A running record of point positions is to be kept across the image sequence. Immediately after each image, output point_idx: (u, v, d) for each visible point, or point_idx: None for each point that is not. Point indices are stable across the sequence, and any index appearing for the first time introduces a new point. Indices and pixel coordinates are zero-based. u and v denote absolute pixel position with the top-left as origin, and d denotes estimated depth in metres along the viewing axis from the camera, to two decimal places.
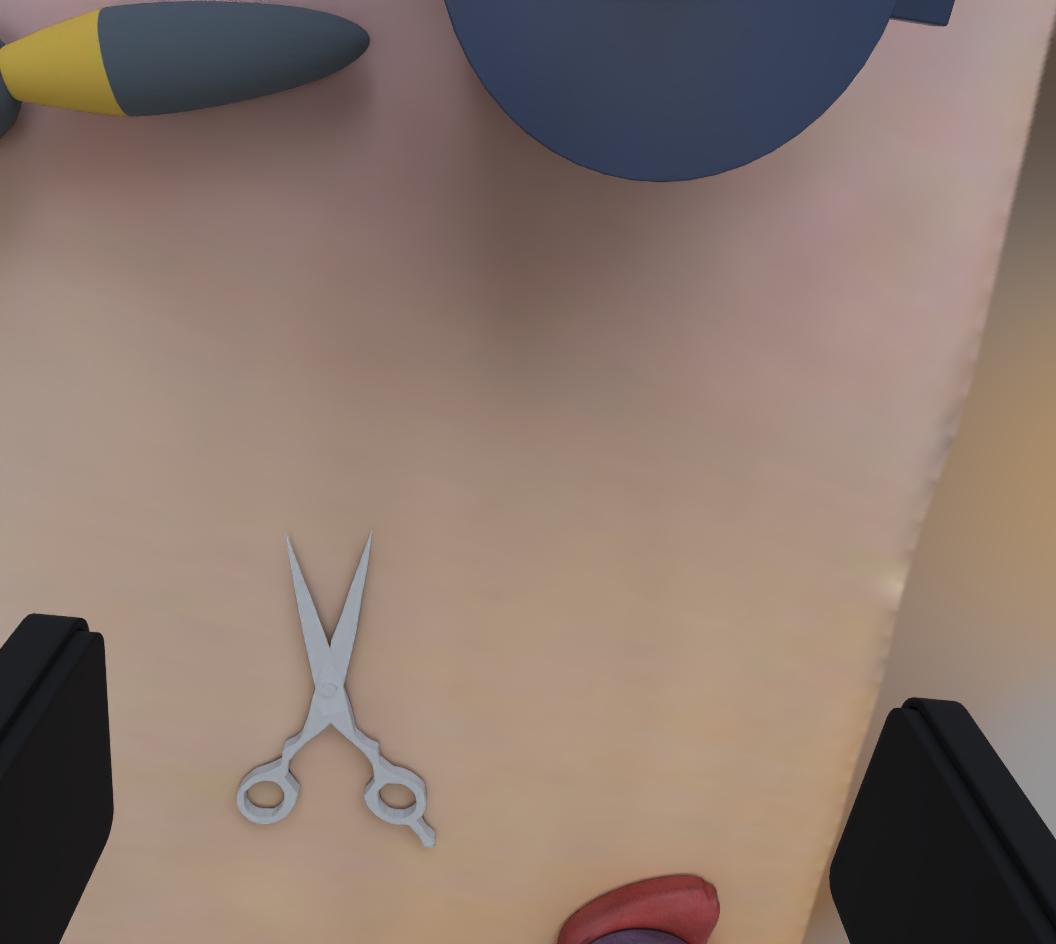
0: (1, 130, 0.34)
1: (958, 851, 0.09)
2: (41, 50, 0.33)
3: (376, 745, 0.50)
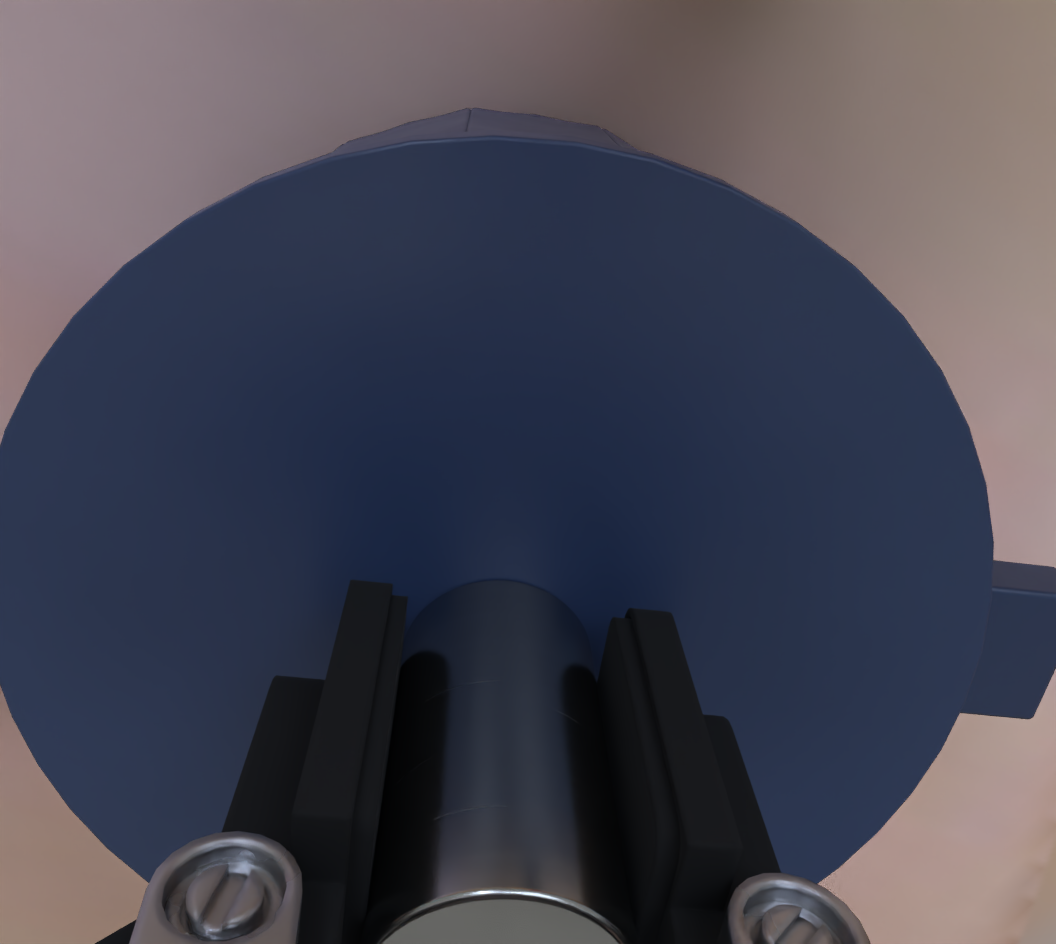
0: None
1: (627, 735, 0.10)
2: None
3: None
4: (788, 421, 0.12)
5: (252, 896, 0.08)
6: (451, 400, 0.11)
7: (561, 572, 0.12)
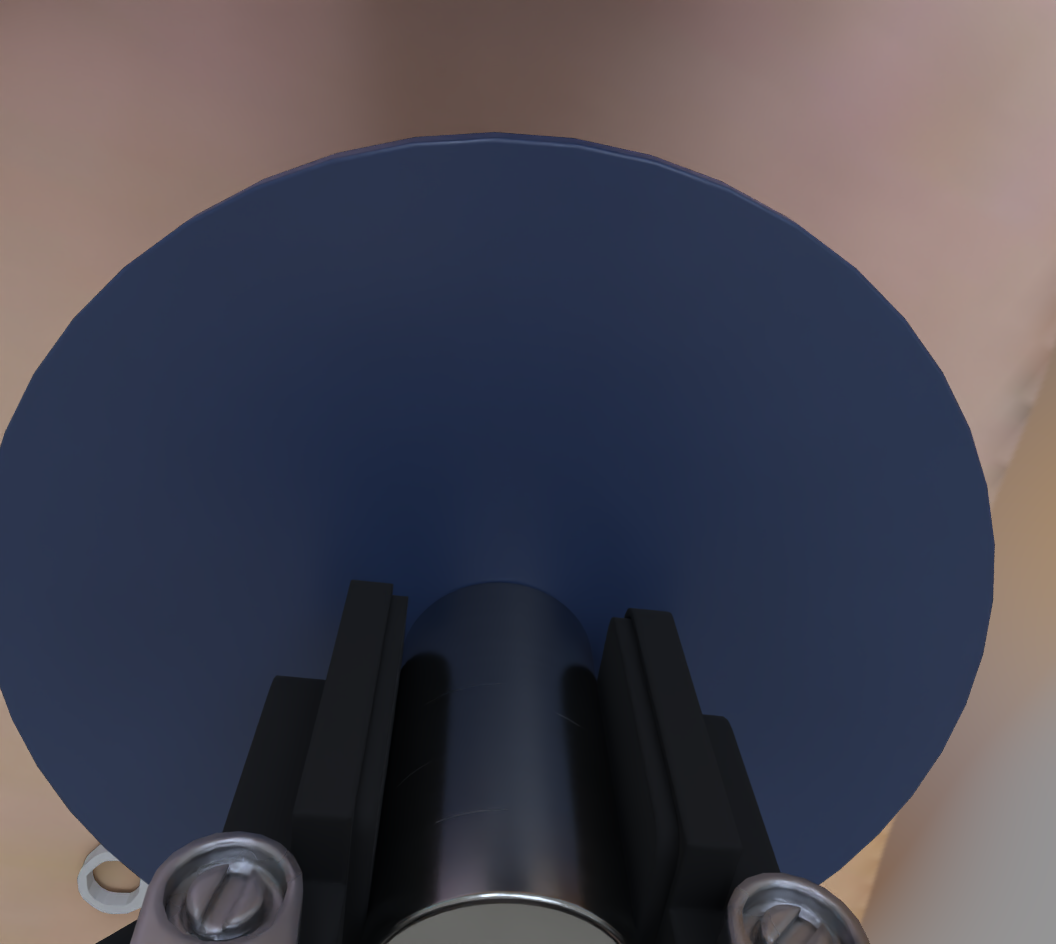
0: None
1: (627, 735, 0.10)
2: None
3: None
4: (789, 423, 0.12)
5: (253, 896, 0.08)
6: (452, 402, 0.11)
7: (562, 574, 0.12)
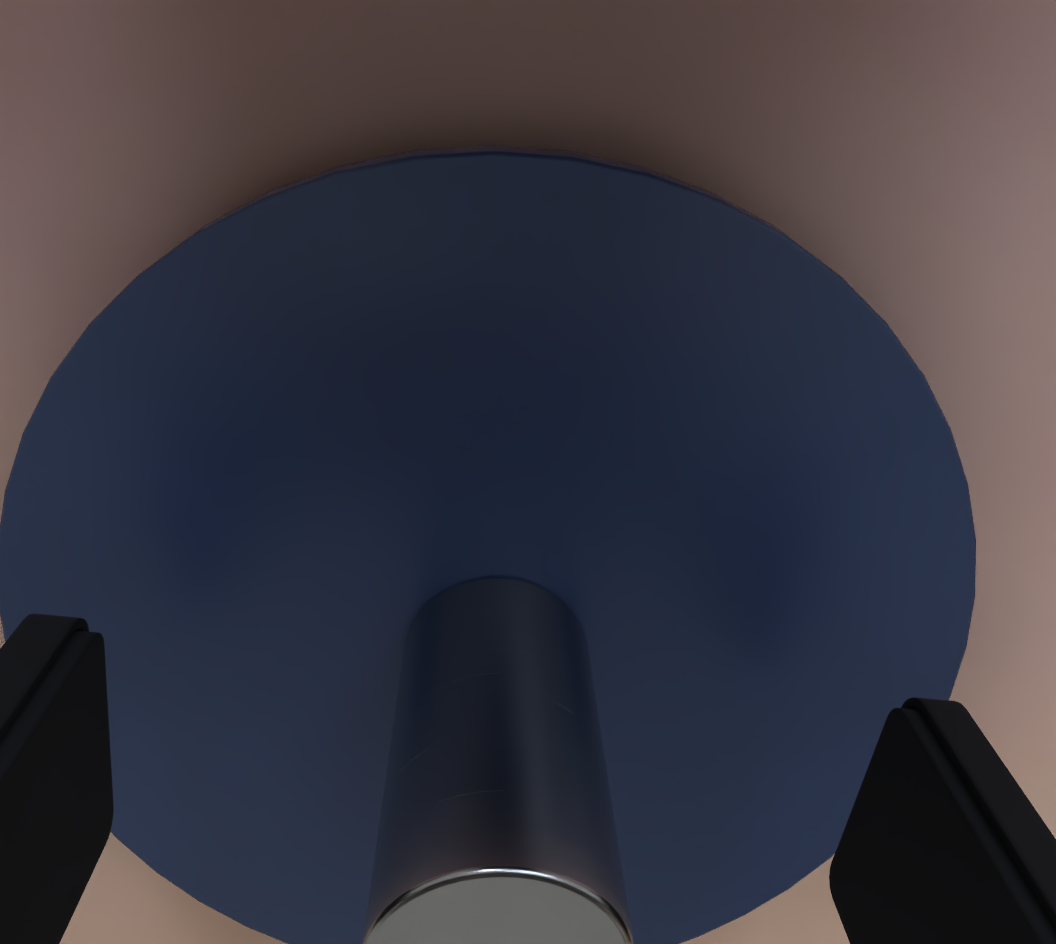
0: None
1: (959, 851, 0.09)
2: None
3: None
4: (776, 424, 0.12)
5: None
6: (452, 404, 0.12)
7: (558, 570, 0.13)
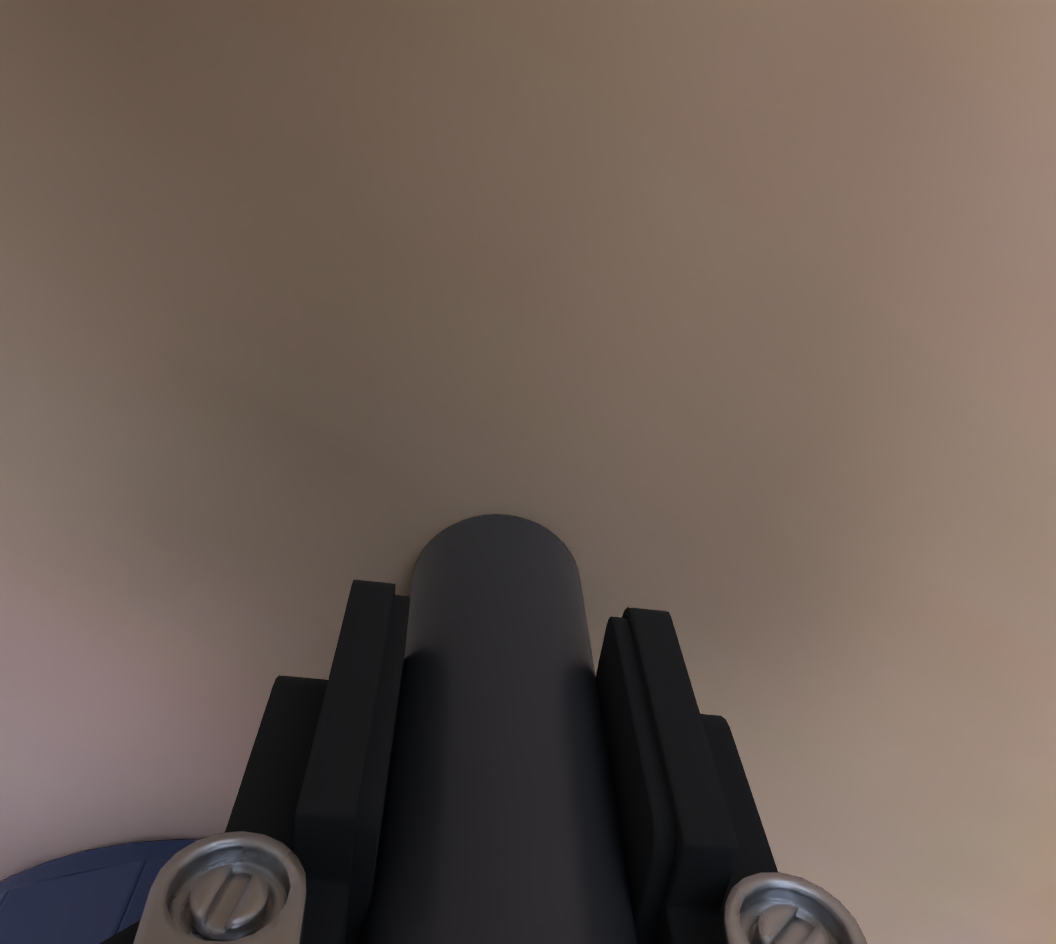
0: None
1: (625, 734, 0.10)
2: None
3: None
4: None
5: (256, 896, 0.08)
6: None
7: None
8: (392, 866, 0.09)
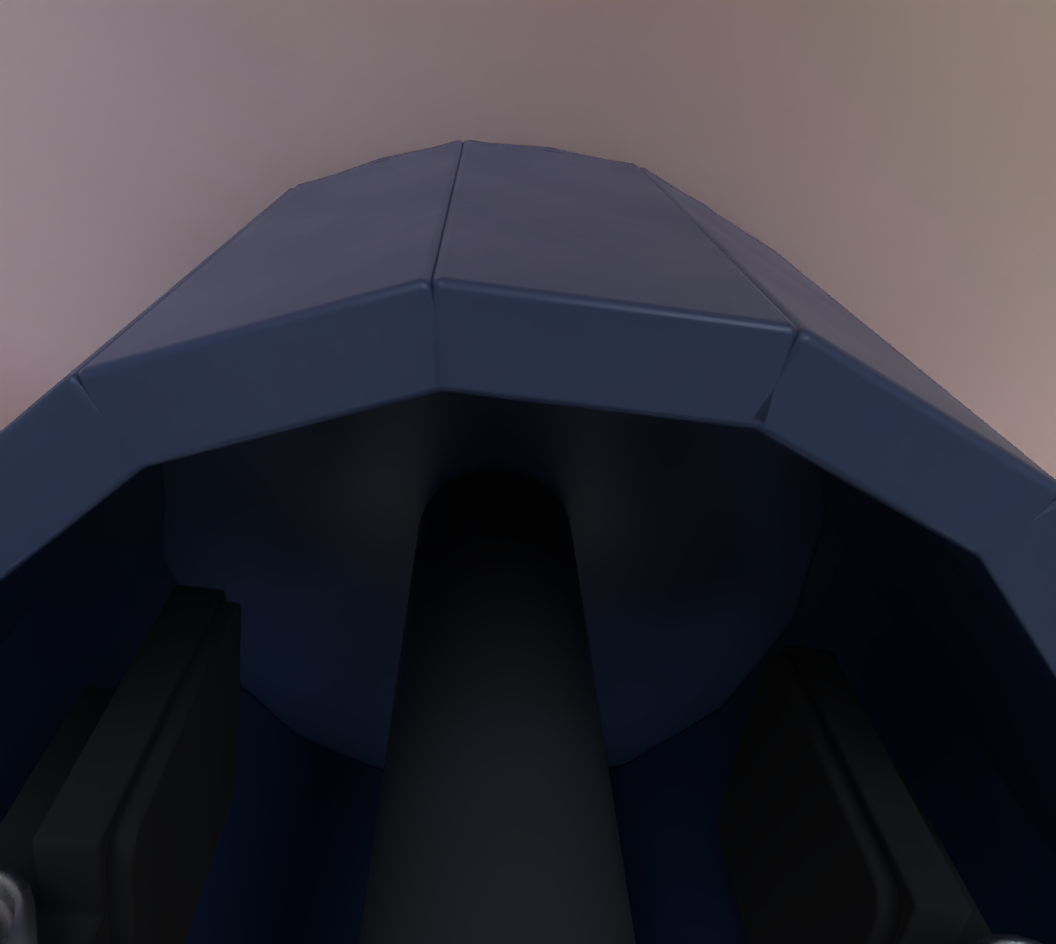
0: None
1: (810, 781, 0.10)
2: None
3: None
4: None
5: None
6: None
7: None
8: (405, 746, 0.10)
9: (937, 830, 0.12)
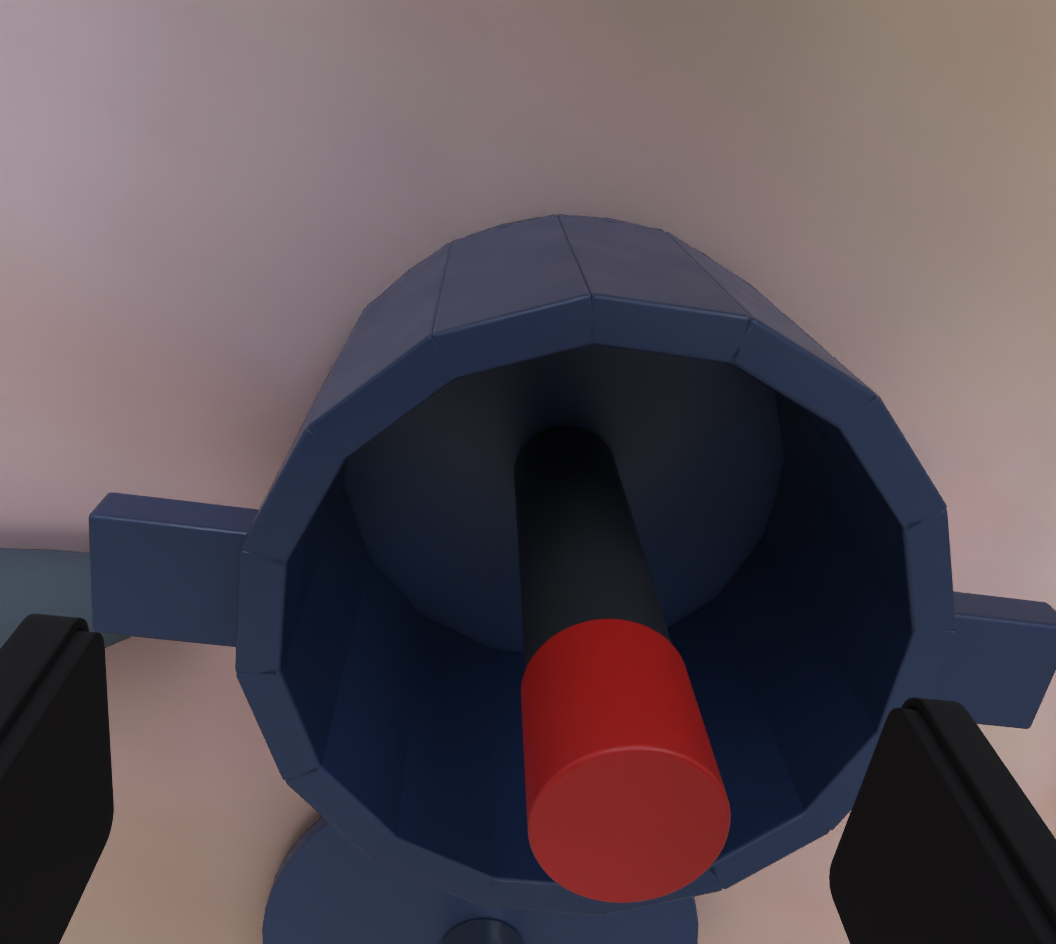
0: None
1: (958, 851, 0.09)
2: None
3: None
4: None
5: None
6: None
7: (510, 915, 0.29)
8: (538, 559, 0.18)
9: (844, 627, 0.20)
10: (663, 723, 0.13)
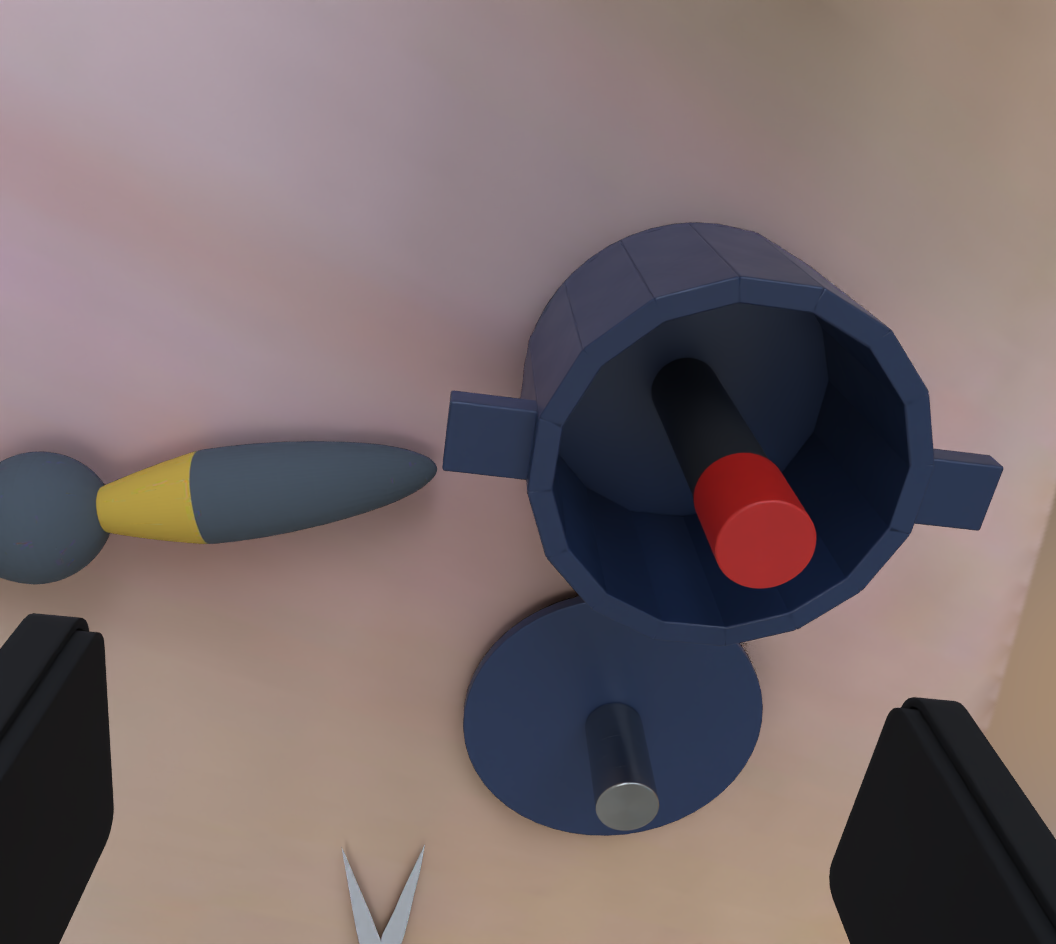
0: (94, 557, 0.37)
1: (958, 851, 0.09)
2: (136, 503, 0.35)
3: None
4: (698, 661, 0.42)
5: None
6: (605, 657, 0.42)
7: (633, 700, 0.43)
8: (690, 430, 0.31)
9: (869, 474, 0.33)
10: (782, 493, 0.26)
